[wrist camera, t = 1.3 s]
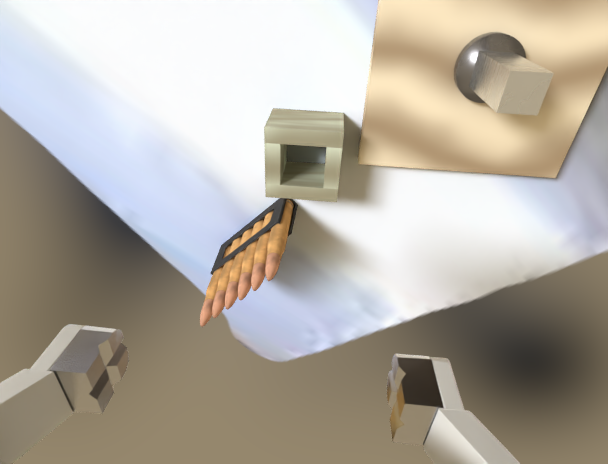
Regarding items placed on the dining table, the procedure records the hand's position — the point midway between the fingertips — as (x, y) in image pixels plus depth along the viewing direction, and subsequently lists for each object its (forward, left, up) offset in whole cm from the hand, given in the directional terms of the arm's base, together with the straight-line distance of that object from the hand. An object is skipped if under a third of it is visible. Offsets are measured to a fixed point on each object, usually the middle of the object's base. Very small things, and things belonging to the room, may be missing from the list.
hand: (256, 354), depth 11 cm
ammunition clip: (+15, -5, -28) cm, 32 cm away
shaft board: (-3, +14, -28) cm, 31 cm away
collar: (+4, 0, -28) cm, 28 cm away
